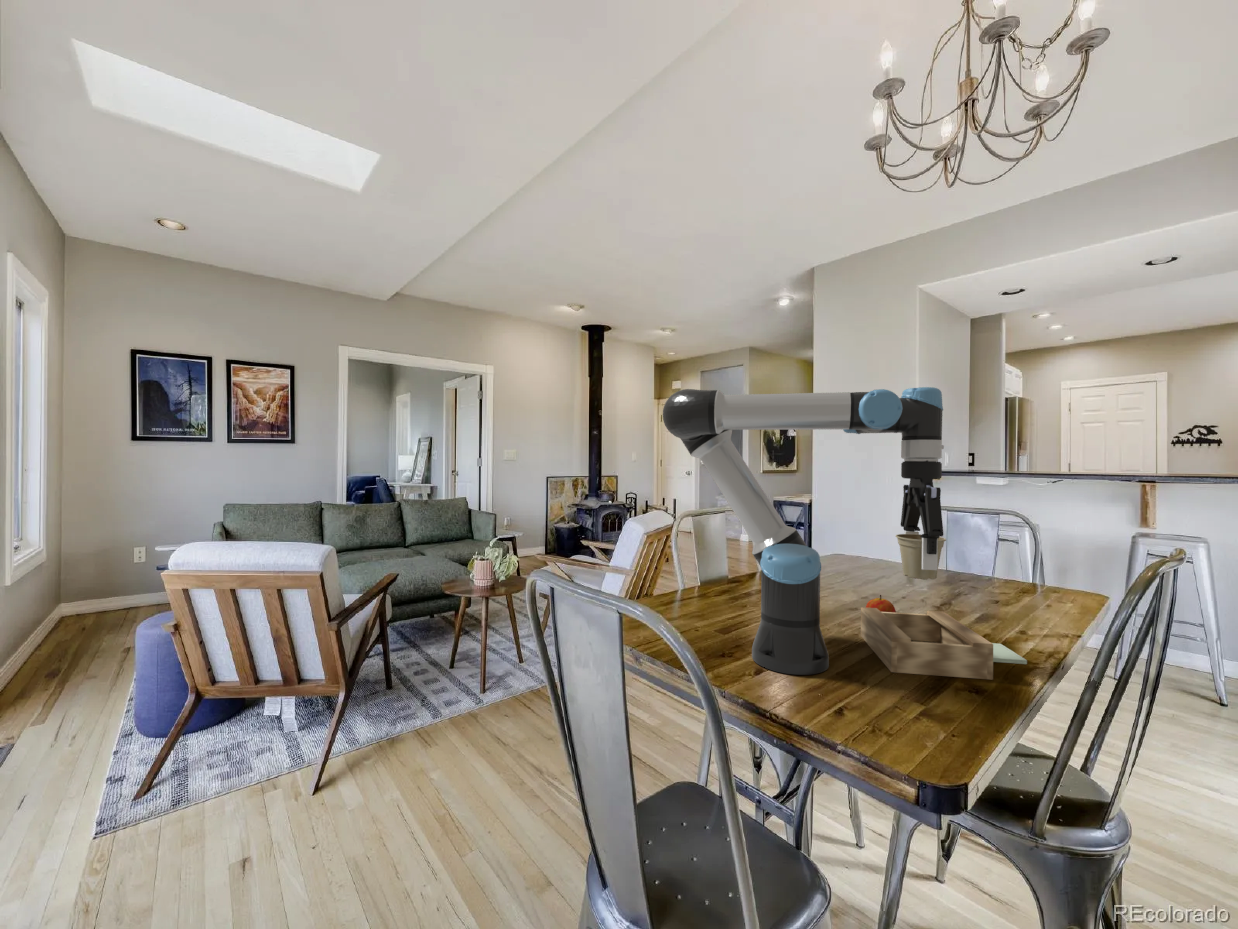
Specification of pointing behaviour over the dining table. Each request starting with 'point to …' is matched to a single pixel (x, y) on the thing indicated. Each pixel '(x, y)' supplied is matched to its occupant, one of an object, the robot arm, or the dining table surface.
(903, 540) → the flower pot
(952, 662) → the crate
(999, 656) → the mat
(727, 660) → the dining table surface
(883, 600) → the fruit
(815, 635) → the robot arm
